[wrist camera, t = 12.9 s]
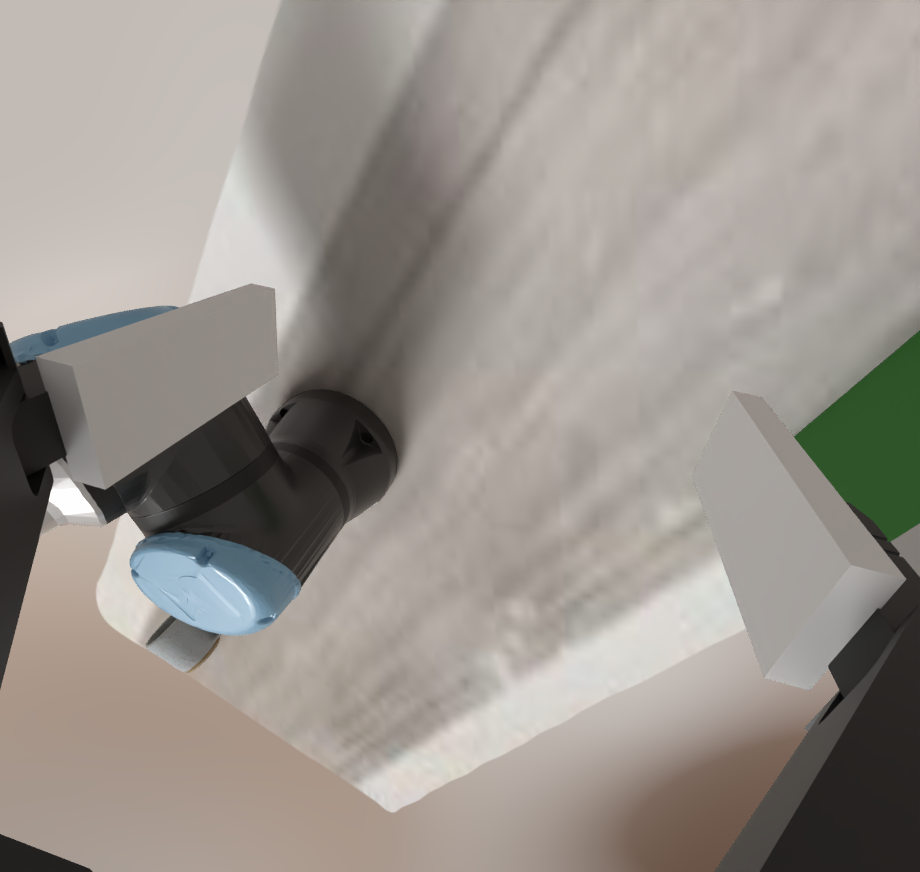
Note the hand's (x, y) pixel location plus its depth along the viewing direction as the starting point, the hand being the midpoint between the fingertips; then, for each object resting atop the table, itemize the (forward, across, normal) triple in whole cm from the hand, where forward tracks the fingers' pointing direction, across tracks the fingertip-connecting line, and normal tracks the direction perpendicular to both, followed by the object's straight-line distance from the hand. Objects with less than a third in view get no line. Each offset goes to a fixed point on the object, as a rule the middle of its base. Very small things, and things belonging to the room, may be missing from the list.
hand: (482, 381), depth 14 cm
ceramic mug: (+33, -41, -66) cm, 85 cm away
